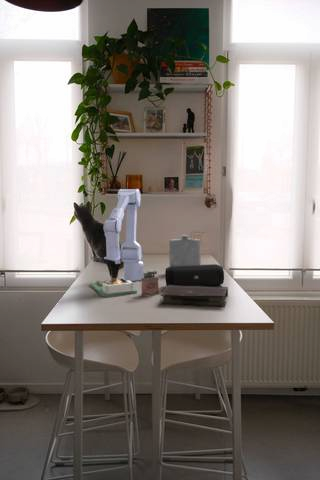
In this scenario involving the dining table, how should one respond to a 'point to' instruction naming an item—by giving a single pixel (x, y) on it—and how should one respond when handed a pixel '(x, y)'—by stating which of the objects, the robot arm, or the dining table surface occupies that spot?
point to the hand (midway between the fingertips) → (113, 277)
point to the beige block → (112, 281)
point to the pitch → (98, 288)
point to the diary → (194, 296)
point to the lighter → (150, 284)
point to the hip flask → (185, 251)
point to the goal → (117, 287)
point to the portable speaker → (195, 275)
